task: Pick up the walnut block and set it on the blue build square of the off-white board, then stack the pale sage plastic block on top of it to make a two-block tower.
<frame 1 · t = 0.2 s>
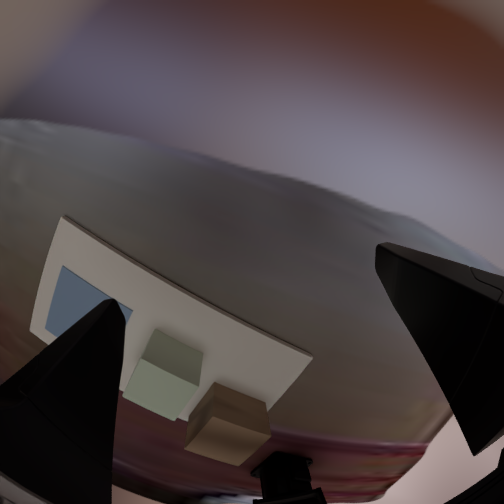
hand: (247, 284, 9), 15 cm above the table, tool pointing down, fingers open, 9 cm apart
walnut block: (226, 410, 28), point 1 cm above the table, touching build board
sage block: (168, 359, 26), point 1 cm above the table, touching build board
build board: (155, 348, 26), on the table
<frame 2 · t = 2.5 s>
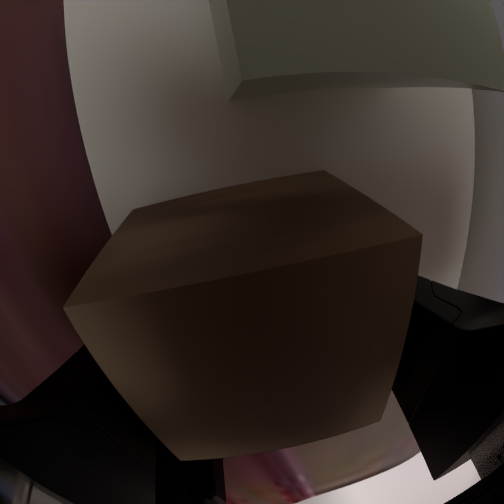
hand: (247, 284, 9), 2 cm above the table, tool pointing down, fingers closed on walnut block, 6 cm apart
walnut block: (245, 272, 10), point 1 cm above the table, touching build board, gripper
sage block: (298, 15, 6), point 1 cm above the table, touching build board
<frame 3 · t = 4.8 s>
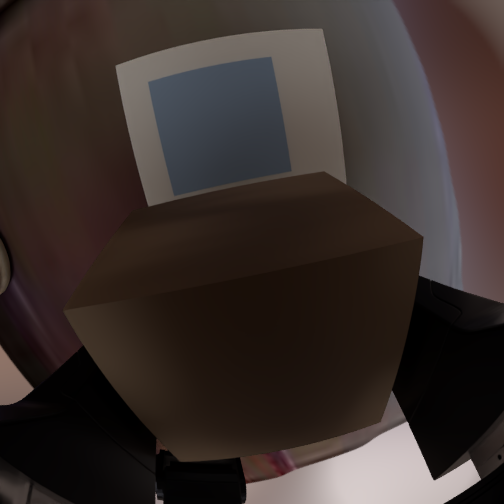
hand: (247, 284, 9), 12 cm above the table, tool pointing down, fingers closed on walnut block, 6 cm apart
walnut block: (245, 274, 10), point 12 cm above the table, touching gripper
build board: (255, 223, 21), on the table
when the fingers open (3 cm above the table, at t = 7.2 s): walnut block drops 2 cm, resting on build board.
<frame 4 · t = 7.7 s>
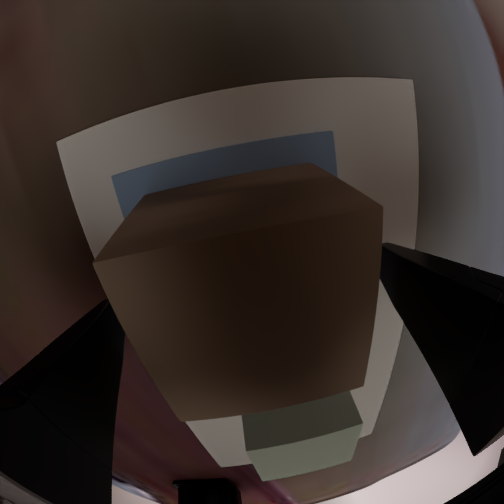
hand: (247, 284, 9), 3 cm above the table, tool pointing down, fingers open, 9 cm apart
walnut block: (242, 253, 11), point 1 cm above the table, touching build board
sage block: (287, 384, 16), point 1 cm above the table, touching build board
build board: (282, 358, 16), on the table
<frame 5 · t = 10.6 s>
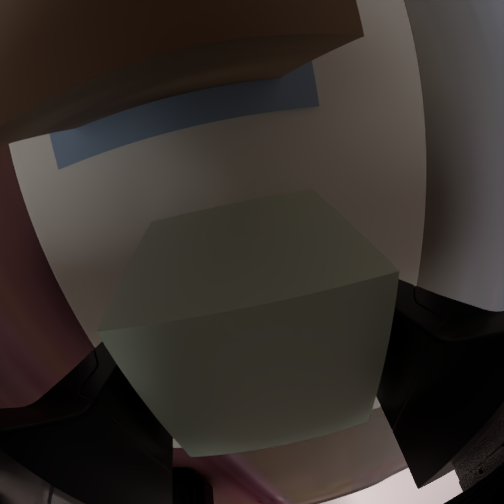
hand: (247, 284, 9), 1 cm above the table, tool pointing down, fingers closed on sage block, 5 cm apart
walnut block: (155, 6, 5), point 1 cm above the table, touching build board
sage block: (245, 274, 10), point 1 cm above the table, touching build board, gripper
build board: (235, 224, 10), on the table
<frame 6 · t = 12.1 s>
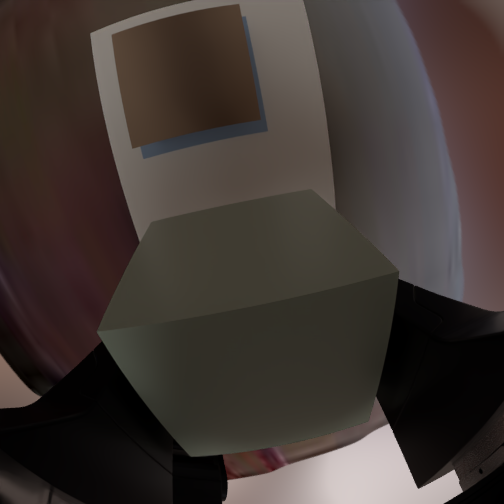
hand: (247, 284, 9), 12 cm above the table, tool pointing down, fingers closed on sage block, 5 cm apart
walnut block: (192, 83, 15), point 1 cm above the table, touching build board
sage block: (245, 274, 10), point 11 cm above the table, touching gripper
build board: (230, 188, 19), on the table
when the fingers open (8 cm above the table, at t = 13.8 s): sage block drops 1 cm, resting on walnut block.
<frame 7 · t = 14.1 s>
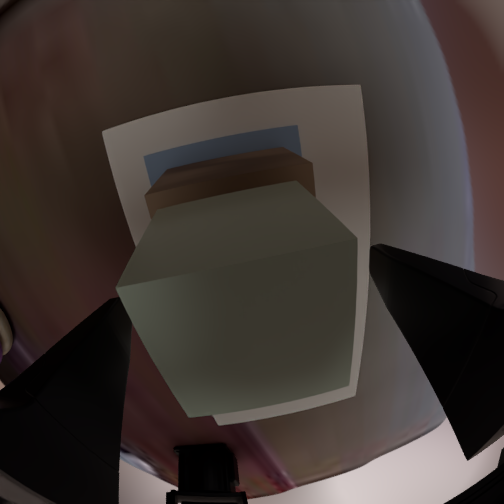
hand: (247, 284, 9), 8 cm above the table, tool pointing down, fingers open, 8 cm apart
walnut block: (234, 211, 16), point 1 cm above the table, touching build board, sage block
sage block: (239, 256, 11), point 6 cm above the table, touching walnut block
build board: (269, 306, 20), on the table
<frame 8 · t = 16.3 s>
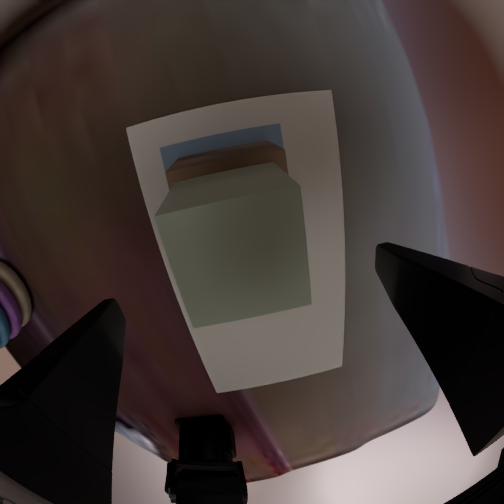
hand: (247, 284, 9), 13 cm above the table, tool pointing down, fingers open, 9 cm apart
walnut block: (231, 191, 19), point 1 cm above the table, touching build board, sage block
sage block: (233, 218, 15), point 6 cm above the table, touching walnut block
build board: (260, 274, 24), on the table
stacking toy: (7, 289, 22), on the table
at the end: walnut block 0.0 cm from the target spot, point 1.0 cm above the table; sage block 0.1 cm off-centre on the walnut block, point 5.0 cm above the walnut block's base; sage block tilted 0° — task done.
